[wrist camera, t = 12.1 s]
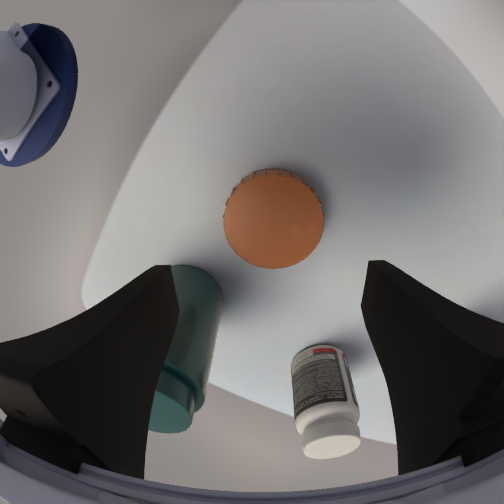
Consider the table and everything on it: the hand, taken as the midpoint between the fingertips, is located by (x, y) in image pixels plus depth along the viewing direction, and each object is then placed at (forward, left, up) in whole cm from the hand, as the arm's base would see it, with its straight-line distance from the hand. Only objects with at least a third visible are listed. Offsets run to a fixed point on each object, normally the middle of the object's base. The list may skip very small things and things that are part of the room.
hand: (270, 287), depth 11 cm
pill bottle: (+13, -4, -8) cm, 16 cm away
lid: (0, 0, -7) cm, 7 cm away
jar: (+2, -8, -8) cm, 12 cm away
